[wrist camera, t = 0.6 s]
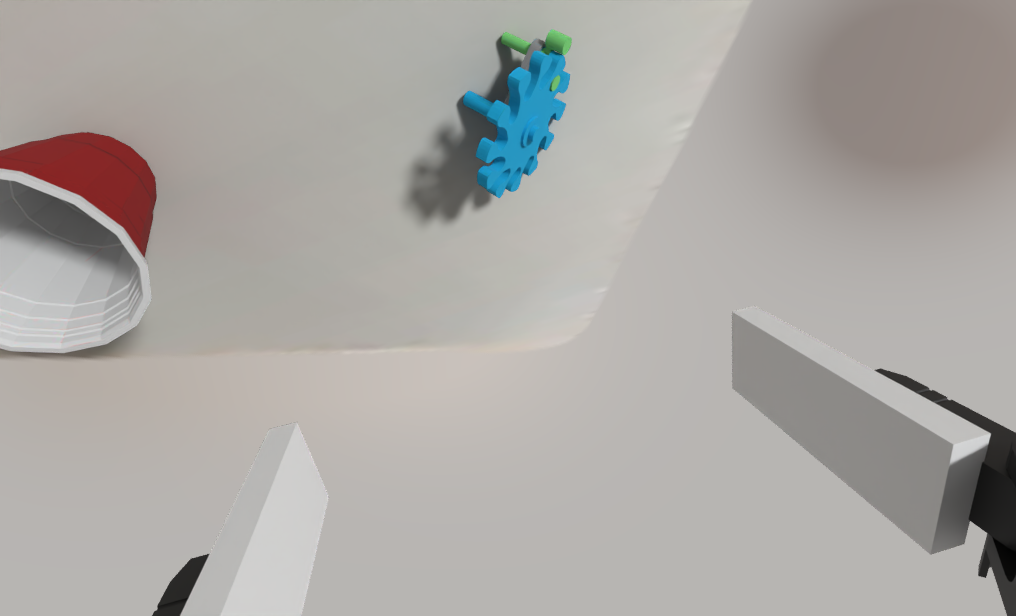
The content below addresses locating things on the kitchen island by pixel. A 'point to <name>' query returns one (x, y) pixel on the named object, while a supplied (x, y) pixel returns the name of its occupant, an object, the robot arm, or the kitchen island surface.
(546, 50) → the blue knobby plastic piece
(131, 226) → the plastic cup
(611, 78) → the kitchen island surface
